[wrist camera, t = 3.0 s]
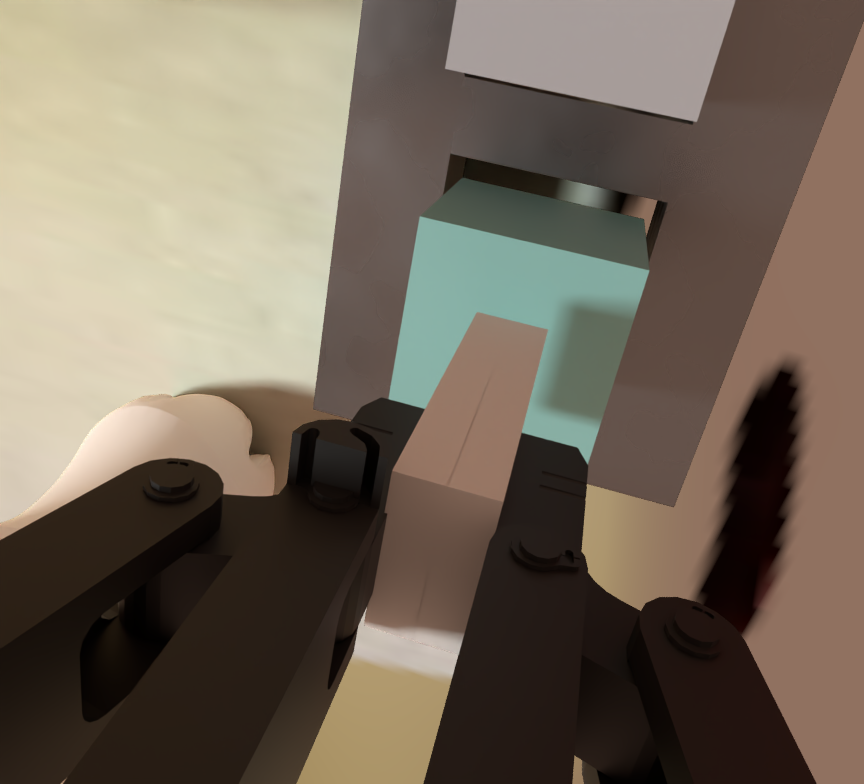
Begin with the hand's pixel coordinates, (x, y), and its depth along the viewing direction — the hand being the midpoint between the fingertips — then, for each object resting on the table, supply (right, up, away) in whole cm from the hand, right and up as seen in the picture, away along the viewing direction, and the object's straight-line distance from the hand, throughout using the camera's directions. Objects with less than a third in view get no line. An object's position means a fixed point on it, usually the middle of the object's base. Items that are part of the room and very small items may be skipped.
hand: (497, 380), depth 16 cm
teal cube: (+1, +3, +6) cm, 7 cm away
